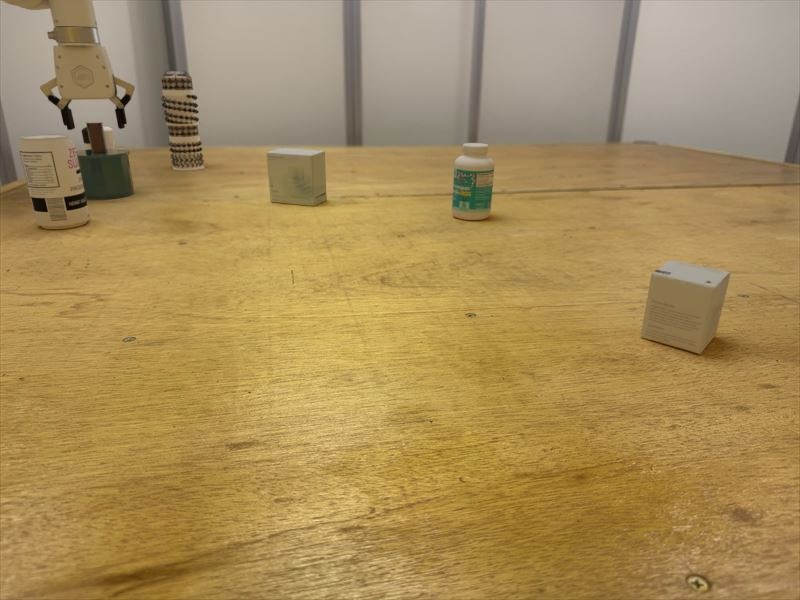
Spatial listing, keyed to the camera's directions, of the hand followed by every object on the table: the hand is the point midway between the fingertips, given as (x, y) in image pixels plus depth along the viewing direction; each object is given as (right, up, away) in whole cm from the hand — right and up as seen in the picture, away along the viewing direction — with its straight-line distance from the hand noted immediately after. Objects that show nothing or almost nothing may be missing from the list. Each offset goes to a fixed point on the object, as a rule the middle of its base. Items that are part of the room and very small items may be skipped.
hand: (96, 128), depth 115 cm
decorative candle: (+5, +1, +39) cm, 39 cm away
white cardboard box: (+93, -40, -57) cm, 116 cm away
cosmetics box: (+42, -15, +1) cm, 45 cm away
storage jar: (0, -13, +5) cm, 14 cm away
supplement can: (+4, -23, -18) cm, 29 cm away
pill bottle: (+77, -20, -9) cm, 80 cm away
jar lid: (0, -5, +2) cm, 5 cm away
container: (-7, -8, +18) cm, 20 cm away
